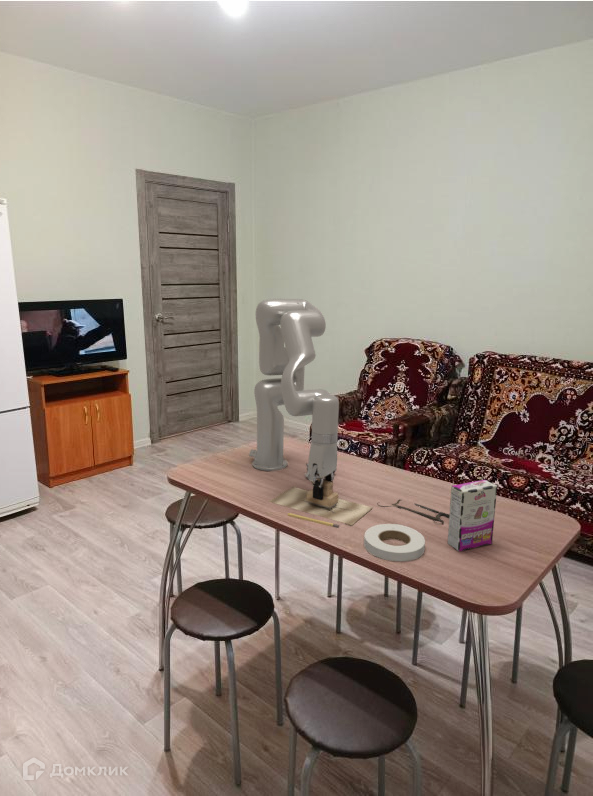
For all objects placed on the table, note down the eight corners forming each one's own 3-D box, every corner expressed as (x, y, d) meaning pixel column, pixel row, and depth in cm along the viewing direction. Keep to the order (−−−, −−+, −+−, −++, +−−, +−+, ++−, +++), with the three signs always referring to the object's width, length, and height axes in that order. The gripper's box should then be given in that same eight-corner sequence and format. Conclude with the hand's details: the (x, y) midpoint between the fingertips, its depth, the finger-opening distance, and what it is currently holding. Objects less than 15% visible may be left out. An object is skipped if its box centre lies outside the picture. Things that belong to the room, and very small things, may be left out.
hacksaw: (463, 522, 155) (463, 517, 155) (443, 533, 149) (443, 528, 148) (394, 496, 173) (395, 492, 172) (374, 505, 166) (374, 500, 165)
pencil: (287, 516, 156) (287, 514, 156) (288, 515, 157) (288, 512, 156) (338, 528, 149) (338, 526, 149) (339, 527, 150) (339, 524, 150)
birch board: (268, 502, 165) (268, 501, 165) (293, 487, 177) (293, 486, 177) (351, 526, 151) (351, 524, 151) (372, 508, 162) (372, 507, 162)
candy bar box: (479, 536, 147) (485, 478, 143) (492, 544, 142) (499, 485, 139) (445, 543, 142) (450, 484, 139) (458, 552, 138) (464, 491, 134)
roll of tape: (432, 562, 134) (433, 551, 133) (370, 563, 132) (371, 552, 132) (414, 532, 149) (415, 523, 148) (359, 533, 147) (359, 523, 147)
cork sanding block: (306, 502, 163) (307, 481, 162) (315, 496, 167) (315, 476, 166) (330, 508, 159) (330, 487, 158) (338, 502, 163) (338, 482, 162)
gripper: (327, 428, 168) (325, 484, 172) (298, 442, 153) (296, 502, 158) (349, 432, 164) (346, 489, 168) (321, 447, 150) (319, 508, 154)
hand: (322, 495), depth 163 cm, fingers closed on cork sanding block, 4 cm apart
